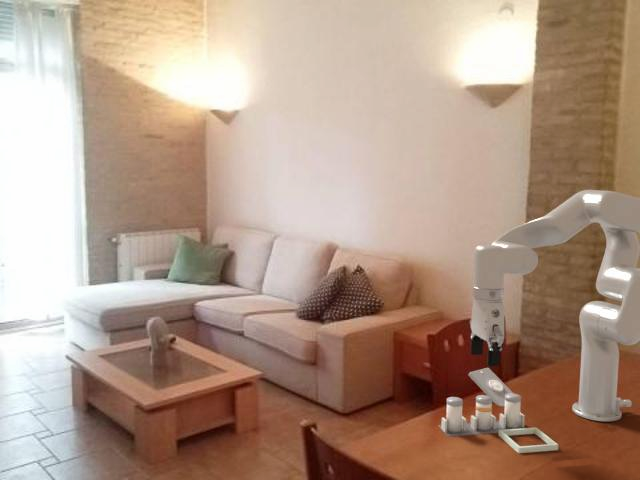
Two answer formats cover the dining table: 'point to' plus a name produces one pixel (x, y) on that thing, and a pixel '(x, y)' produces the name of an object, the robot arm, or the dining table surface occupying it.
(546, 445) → the tray
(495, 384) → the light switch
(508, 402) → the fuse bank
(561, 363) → the dining table surface
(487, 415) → the cylinder
